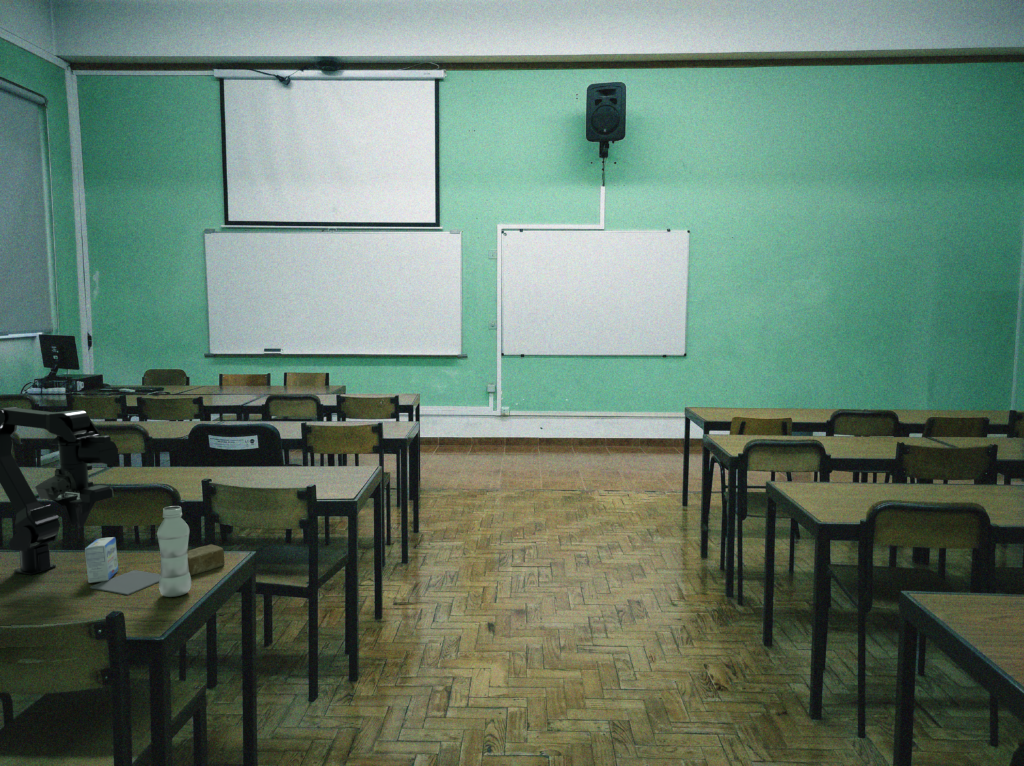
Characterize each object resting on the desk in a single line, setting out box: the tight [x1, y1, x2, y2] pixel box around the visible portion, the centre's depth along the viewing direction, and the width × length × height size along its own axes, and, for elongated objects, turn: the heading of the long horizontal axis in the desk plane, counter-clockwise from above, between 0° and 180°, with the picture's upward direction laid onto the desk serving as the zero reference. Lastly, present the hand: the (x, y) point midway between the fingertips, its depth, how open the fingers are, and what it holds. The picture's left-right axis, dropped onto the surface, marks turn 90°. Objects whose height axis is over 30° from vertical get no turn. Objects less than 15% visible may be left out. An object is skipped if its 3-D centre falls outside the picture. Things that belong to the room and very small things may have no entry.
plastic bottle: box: [156, 505, 192, 598], centre depth 157 cm, size 6×7×20 cm
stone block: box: [187, 543, 225, 576], centre depth 175 cm, size 6×12×5 cm, turn 147°
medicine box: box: [84, 536, 119, 584], centre depth 168 cm, size 8×4×9 cm, turn 14°
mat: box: [89, 569, 161, 596], centre depth 166 cm, size 12×12×1 cm
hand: (77, 525), depth 171 cm, fingers open, 2 cm apart
